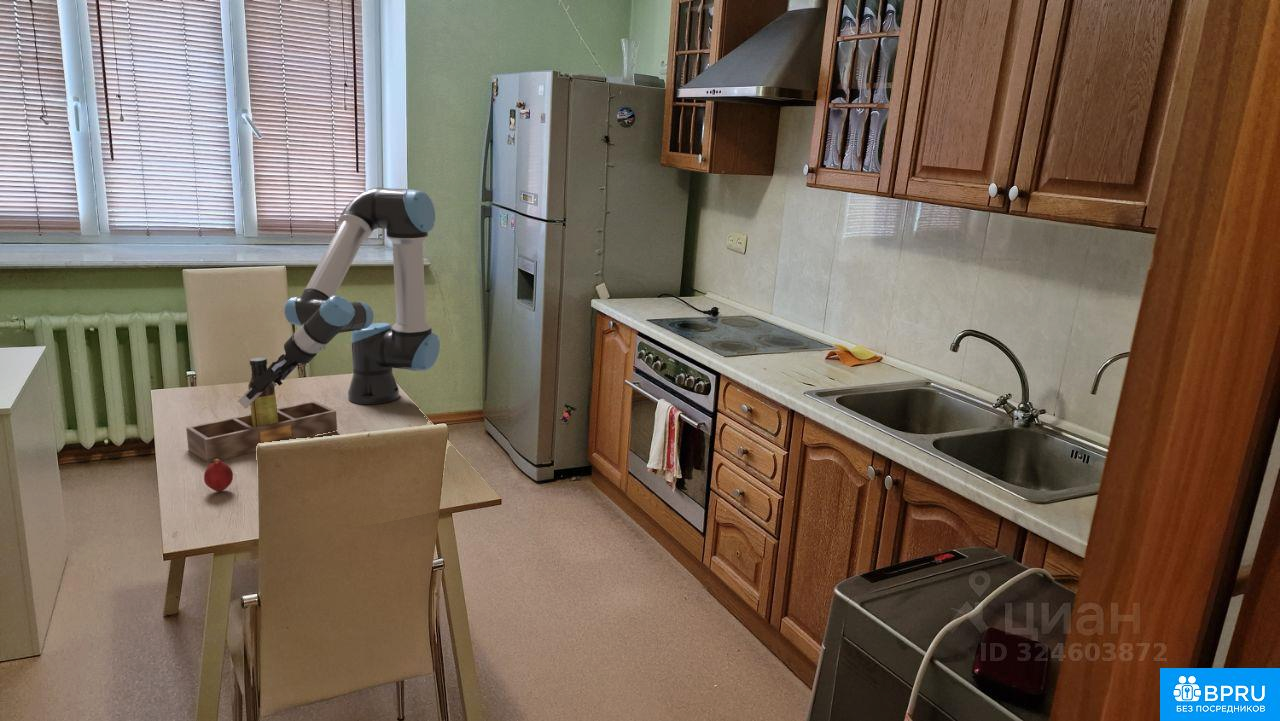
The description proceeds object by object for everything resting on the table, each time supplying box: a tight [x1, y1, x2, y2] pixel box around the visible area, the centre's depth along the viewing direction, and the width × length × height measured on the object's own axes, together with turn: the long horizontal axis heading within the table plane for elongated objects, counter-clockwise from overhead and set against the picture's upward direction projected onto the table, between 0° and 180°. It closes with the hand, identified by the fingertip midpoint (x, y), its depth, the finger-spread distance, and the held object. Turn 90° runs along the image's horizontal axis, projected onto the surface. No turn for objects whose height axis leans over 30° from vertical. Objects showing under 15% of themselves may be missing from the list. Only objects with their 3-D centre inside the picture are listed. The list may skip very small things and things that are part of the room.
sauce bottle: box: [248, 357, 278, 428], centre depth 215 cm, size 6×6×20 cm
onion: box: [203, 459, 234, 493], centre depth 185 cm, size 6×6×8 cm
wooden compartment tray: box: [185, 400, 338, 464], centre depth 217 cm, size 34×12×6 cm, turn 139°
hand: (250, 400), depth 216 cm, fingers closed on sauce bottle, 6 cm apart
